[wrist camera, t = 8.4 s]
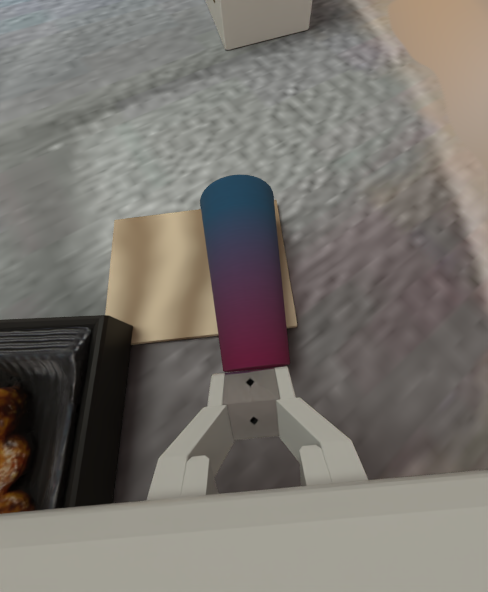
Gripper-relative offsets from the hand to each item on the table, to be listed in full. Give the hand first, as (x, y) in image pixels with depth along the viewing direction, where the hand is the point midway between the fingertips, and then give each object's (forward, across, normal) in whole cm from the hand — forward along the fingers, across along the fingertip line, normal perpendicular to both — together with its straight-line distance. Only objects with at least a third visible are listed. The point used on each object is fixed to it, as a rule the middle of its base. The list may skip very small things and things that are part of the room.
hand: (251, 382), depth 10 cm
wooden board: (+17, +5, +1) cm, 18 cm away
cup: (+7, 0, +6) cm, 9 cm away
